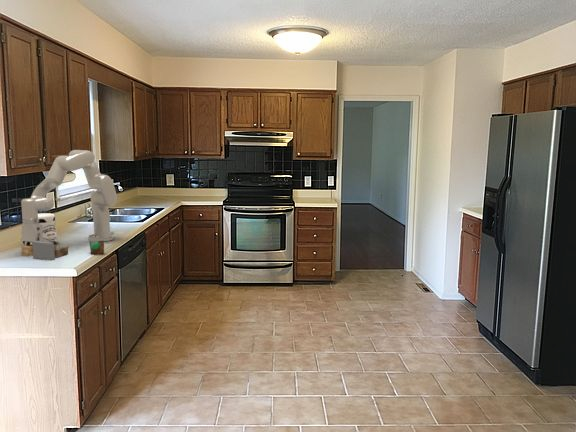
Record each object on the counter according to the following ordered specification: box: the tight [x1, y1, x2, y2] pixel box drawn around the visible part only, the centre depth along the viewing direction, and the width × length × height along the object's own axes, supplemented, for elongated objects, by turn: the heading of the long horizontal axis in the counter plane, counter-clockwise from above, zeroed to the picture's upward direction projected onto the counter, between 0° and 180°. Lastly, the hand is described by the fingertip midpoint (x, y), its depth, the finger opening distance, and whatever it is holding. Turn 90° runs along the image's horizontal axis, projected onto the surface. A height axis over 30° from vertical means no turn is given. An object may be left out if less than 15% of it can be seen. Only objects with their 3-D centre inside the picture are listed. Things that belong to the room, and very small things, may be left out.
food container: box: [87, 233, 105, 256], centre depth 265 cm, size 12×6×10 cm, turn 45°
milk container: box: [30, 212, 59, 245], centre depth 285 cm, size 17×17×18 cm
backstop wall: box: [32, 241, 56, 261], centre depth 251 cm, size 2×12×9 cm, turn 74°
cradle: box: [54, 245, 69, 258], centre depth 260 cm, size 9×8×4 cm
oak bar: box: [21, 244, 33, 257], centre depth 262 cm, size 10×4×5 cm, turn 159°
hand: (32, 253), depth 262 cm, fingers closed on oak bar, 4 cm apart
